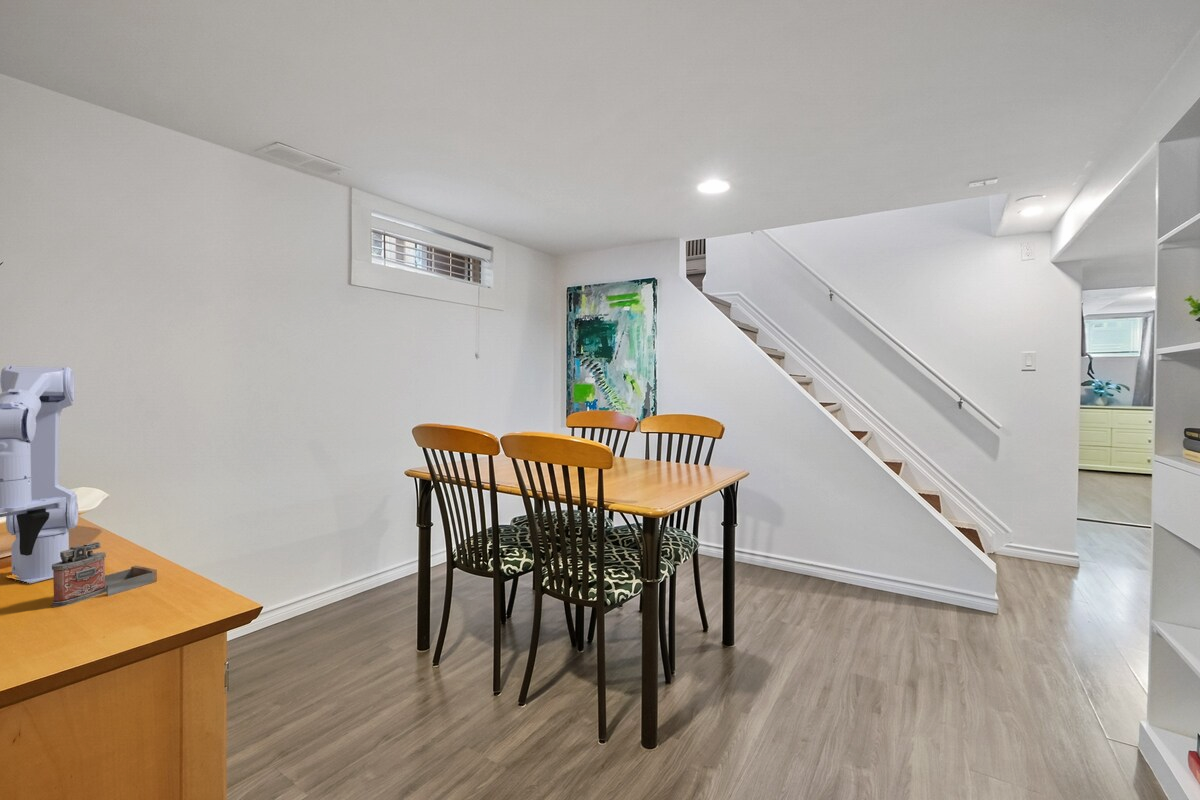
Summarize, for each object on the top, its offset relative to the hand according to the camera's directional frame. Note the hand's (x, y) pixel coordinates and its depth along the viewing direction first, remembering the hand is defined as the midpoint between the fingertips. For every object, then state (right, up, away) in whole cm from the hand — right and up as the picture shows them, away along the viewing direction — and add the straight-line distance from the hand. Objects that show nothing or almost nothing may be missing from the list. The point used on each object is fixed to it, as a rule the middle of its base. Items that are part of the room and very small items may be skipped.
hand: (8, 558), depth 89 cm
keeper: (+6, -10, +15) cm, 19 cm away
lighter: (+3, -11, +9) cm, 14 cm away
